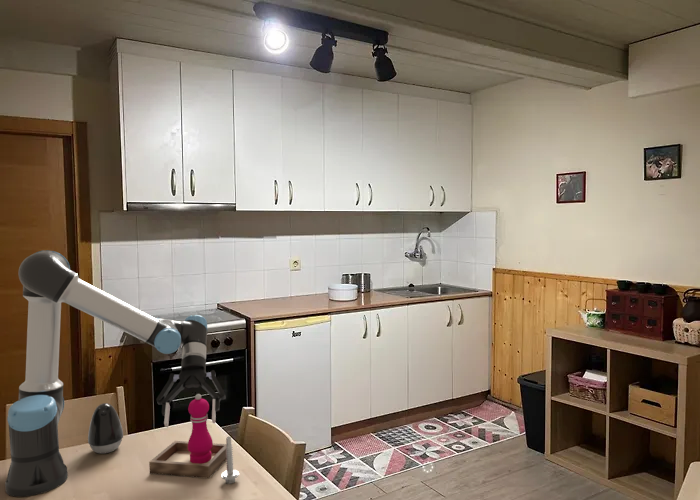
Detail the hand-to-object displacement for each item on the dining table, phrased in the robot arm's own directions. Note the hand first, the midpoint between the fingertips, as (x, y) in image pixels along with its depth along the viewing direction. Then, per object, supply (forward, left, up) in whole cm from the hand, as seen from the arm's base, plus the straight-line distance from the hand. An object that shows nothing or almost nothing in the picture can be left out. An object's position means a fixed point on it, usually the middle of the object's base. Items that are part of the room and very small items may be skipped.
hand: (190, 423), depth 158 cm
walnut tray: (0, 0, -13) cm, 13 cm away
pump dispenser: (-32, +5, -13) cm, 35 cm away
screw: (+16, -8, -13) cm, 22 cm away
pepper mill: (+2, +2, -12) cm, 12 cm away
